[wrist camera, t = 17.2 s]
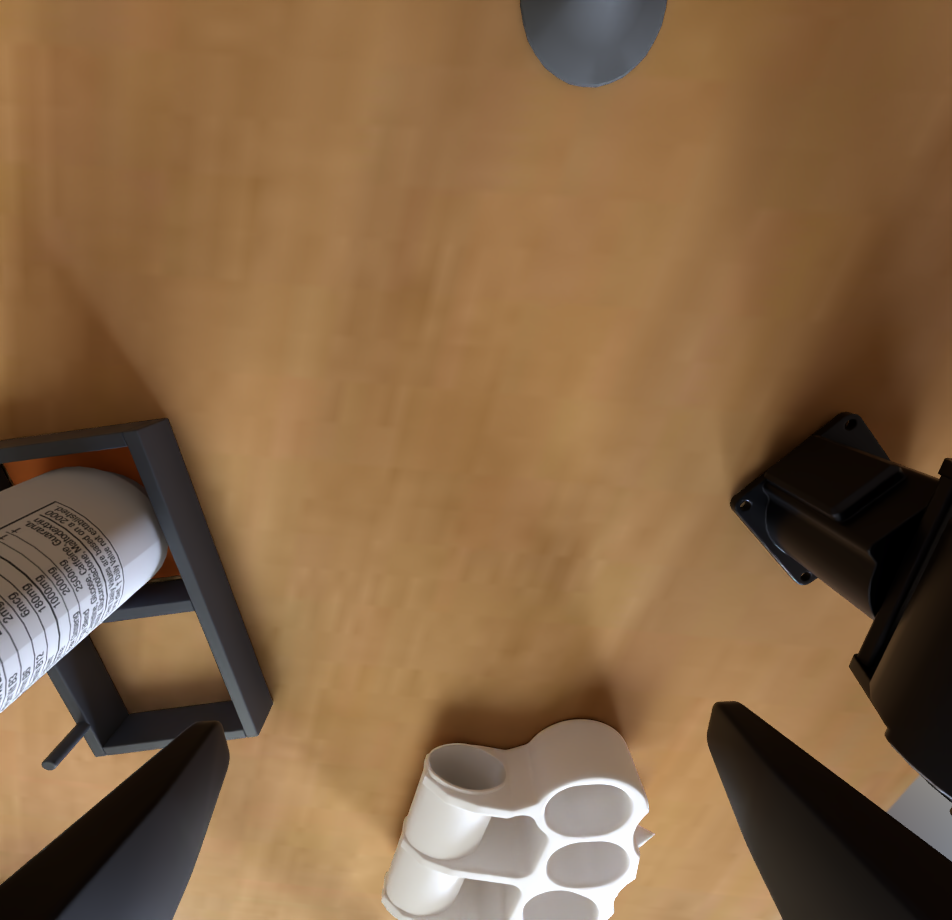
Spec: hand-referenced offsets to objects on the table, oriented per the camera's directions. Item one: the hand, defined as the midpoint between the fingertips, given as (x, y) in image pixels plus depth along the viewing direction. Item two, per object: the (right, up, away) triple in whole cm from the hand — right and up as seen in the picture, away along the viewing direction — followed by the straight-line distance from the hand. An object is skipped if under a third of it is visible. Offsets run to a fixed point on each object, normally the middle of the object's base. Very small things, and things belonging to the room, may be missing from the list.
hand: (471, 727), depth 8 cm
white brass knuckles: (+3, -18, +20) cm, 27 cm away
